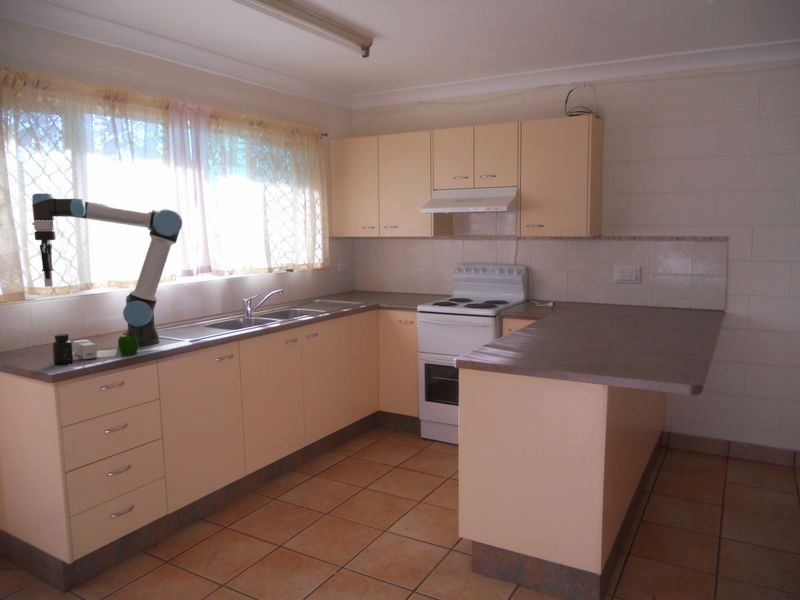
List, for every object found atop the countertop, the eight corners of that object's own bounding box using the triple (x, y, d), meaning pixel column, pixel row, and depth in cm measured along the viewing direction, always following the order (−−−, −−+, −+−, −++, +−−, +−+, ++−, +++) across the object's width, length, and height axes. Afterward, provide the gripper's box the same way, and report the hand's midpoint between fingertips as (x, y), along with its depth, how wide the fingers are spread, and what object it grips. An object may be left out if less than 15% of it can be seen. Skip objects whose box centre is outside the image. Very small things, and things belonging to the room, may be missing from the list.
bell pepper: (132, 351, 265) (130, 329, 263) (143, 354, 260) (141, 331, 259) (113, 355, 258) (112, 332, 256) (124, 357, 253) (123, 334, 252)
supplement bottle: (49, 365, 239) (47, 335, 238) (64, 361, 246) (62, 332, 244) (62, 366, 237) (60, 336, 235) (77, 363, 243) (75, 333, 242)
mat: (117, 350, 268) (117, 349, 268) (115, 357, 254) (115, 356, 254) (71, 353, 261) (71, 352, 261) (67, 360, 247) (66, 359, 247)
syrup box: (97, 357, 251) (87, 352, 262) (97, 343, 251) (86, 339, 261) (82, 359, 247) (72, 354, 258) (82, 345, 247) (72, 340, 257)
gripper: (37, 230, 259) (41, 285, 261) (31, 230, 247) (36, 288, 249) (57, 230, 261) (61, 284, 264) (52, 230, 249) (56, 287, 252)
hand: (48, 286), depth 257 cm, fingers closed
